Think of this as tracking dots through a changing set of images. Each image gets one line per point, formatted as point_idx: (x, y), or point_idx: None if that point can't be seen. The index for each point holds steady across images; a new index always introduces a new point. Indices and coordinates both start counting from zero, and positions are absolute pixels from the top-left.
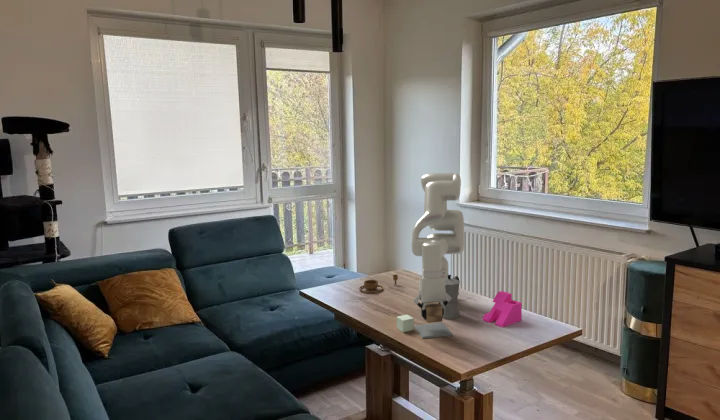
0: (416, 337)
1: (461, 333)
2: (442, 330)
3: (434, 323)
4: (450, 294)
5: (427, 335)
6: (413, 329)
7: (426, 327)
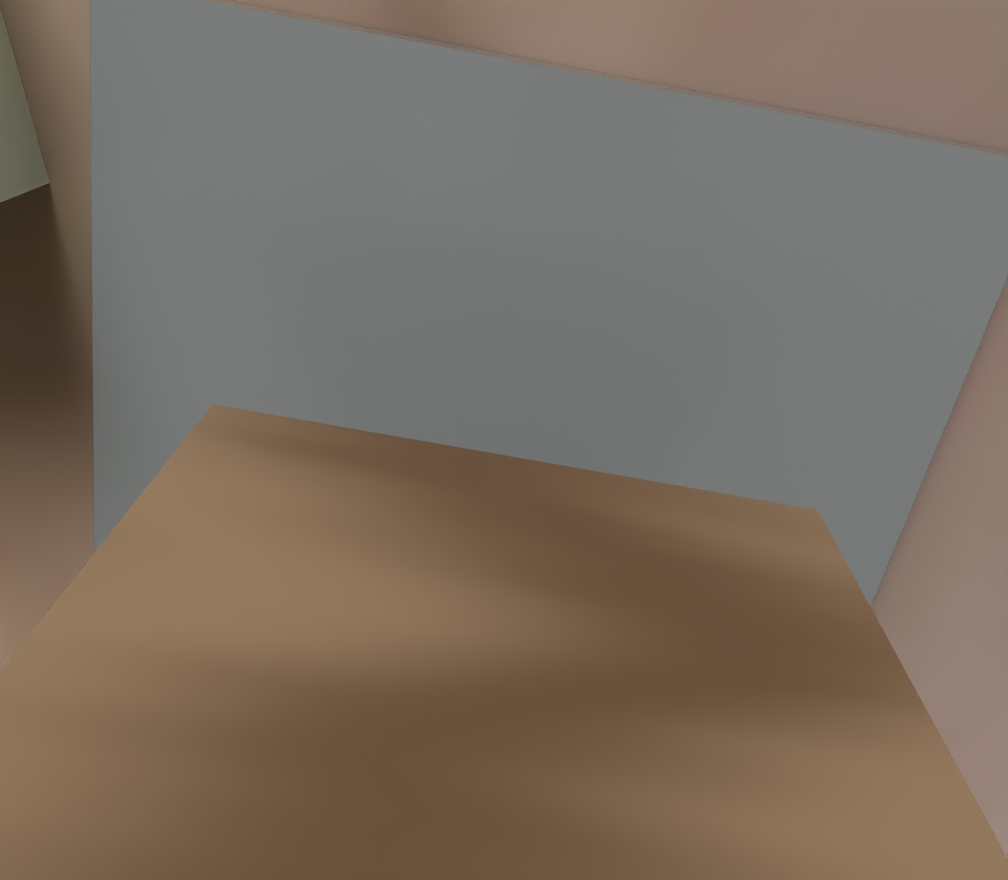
0: (4, 609)
1: (999, 797)
2: None
3: (779, 124)
4: None
5: None
6: (32, 186)
7: (394, 318)
